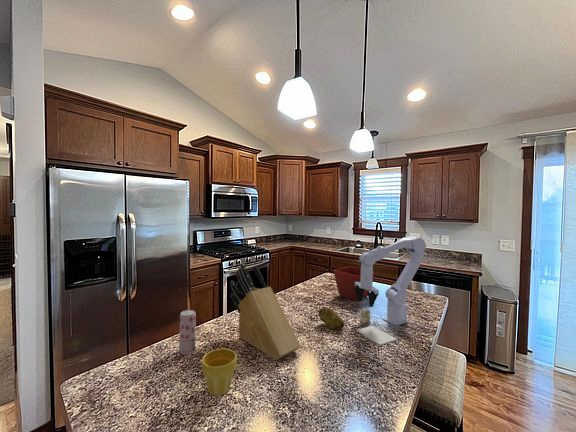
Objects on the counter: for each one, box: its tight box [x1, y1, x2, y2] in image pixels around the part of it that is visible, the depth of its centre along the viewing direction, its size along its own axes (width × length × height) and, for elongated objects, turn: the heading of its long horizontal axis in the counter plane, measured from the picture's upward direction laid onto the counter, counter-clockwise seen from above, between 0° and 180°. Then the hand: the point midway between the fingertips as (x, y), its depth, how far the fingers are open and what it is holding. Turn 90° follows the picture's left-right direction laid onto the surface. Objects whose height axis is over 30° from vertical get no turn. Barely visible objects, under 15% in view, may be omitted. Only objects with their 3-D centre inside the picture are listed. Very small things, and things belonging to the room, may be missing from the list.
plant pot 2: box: [333, 266, 376, 302], centre depth 166 cm, size 19×19×17 cm
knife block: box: [229, 263, 302, 361], centre depth 108 cm, size 11×35×31 cm, turn 44°
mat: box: [356, 325, 398, 346], centre depth 116 cm, size 10×14×1 cm
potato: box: [318, 306, 345, 330], centre depth 124 cm, size 8×13×8 cm, turn 28°
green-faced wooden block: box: [359, 307, 371, 324], centre depth 130 cm, size 4×2×6 cm, turn 117°
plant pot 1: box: [201, 348, 238, 397], centre depth 80 cm, size 10×10×10 cm
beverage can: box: [179, 309, 197, 356], centre depth 100 cm, size 6×6×15 cm
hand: (365, 304), depth 130 cm, fingers open, 7 cm apart
